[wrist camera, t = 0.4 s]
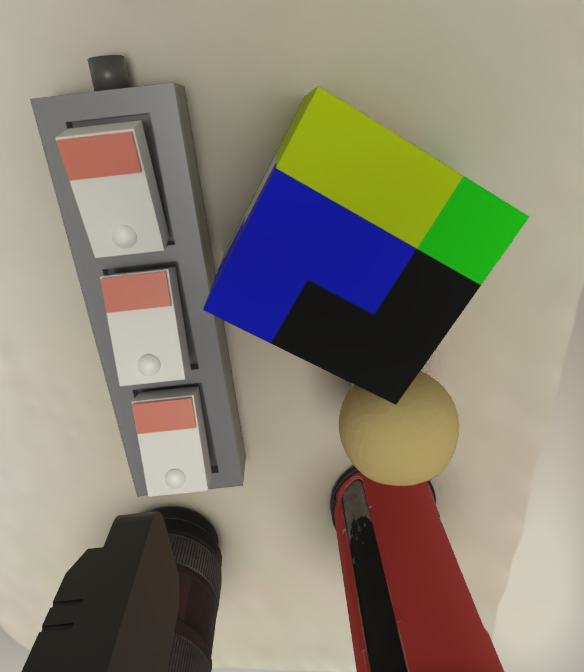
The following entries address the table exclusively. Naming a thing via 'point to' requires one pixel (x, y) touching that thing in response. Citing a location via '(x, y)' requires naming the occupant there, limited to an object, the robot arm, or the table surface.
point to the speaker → (405, 582)
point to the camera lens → (193, 588)
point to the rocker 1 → (115, 188)
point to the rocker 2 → (146, 326)
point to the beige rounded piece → (400, 432)
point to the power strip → (152, 253)
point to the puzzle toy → (359, 249)
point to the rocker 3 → (172, 441)
